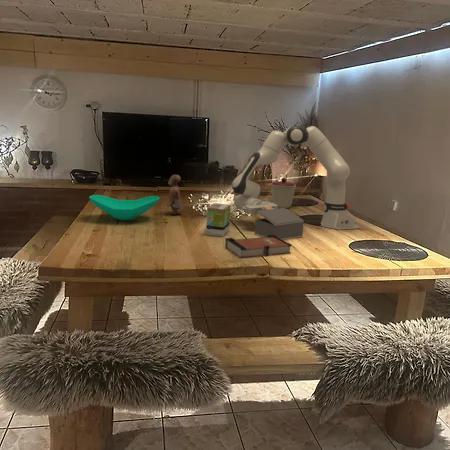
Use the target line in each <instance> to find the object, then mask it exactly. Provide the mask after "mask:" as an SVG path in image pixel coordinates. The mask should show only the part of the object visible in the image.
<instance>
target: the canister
mask: <svg viewBox="0 0 450 450" xmlns="http://www.w3.org/2000/svg"><path fill="white" fill-rule="evenodd" d="M270 185H271V203H274V204H276V205H277V206H278V208H286V209H289V208H291V206H292V204H293V200H294V194H295V189H296V187H297V185H296V184H295V182H292V181H287V179H286V177H281V178H280V180H278V181H275V180H274V181H272V182H271V183H270Z"/></svg>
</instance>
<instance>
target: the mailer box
mask: <svg viewBox="0 0 450 450" xmlns="http://www.w3.org/2000/svg"><path fill="white" fill-rule="evenodd" d="M254 222H255V224H254V235H257V236H259V237H261V238H263V237H268V235H275V236H277V238H279V239H281V240H283V241H285V240H291V239H296V238H297V239H298V238H301V237H303V232H304V222H305V221H304V222H298V223H291V224H283V225H274V224H273V223H271V222H270V221H268V220H267V219H266V218H264V217H263V218H256V219H255V221H254Z"/></svg>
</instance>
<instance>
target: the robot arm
mask: <svg viewBox="0 0 450 450" xmlns="http://www.w3.org/2000/svg"><path fill="white" fill-rule="evenodd" d="M300 144H301V145H302V144H305V145H306V146H307V147H308V149H309V150H310V151H311V153H312V154H313V155H314V156H315V158H316V159H317V161H319V162H320V164H321V165H322V167H323V168H324V169H325V171H326V191H325V201H324V204H323V214H322V218H321V221H320V224H321V225H320V226H321V227H324V228H329V229H333V230H353V229H360V228H359V227H360V226H359V225H358V224H357V223H356V218H355V216H354V215H353V214H352V213H351V212H350V211H349V210H347V209H350V208H351V205H350V204H347V203H346V201H345V200H346V191H347V188H346V187H347V186H346V179H348V178H349V176H350V174H351V168H350V166H349V165H348V163H347V162H346V161H345V160H344V158H343V157H342V156H341V155H340V154H339V152H338V150H337V149H335V147H334V146H333V145H332V143H331V142H330V141H329V139H328V138H327V137H326V136H325V135H324V133H323V132H322V131H321V130H320V129H319V128H318V127H316V126H313V125H311V126H308V127H307V128H305V127H302V126H300V125H293V126H292V125H291V126H289V127H288V128H287V129H285V130H284V131H282V132H281V130H272V131H271V132H270V133H269V134H268V135H267V137H266V139H265V140H264V142H263V144H262V146H261V148H260V149H259V150H258V151H257V152H253V154H252V155H251V156H250V158H249V159H248V160H247V161H246V163H245V165H244V166H243V167H242V169H241V171H240V172H239V173H238V174H237V176H236V177H235V178H234V179H233V180H232V182H231V188H232V191H233V193H235V194H238V195H237V196H235V197H234V199H233V204H234V206H235V208H237V209H238V210H240V211H243V212H245V213H247V214H249V215H255V216H256V215H259V213H257V211H259V210H266V209H264V208H263V207H265V206H271V207H272V208H274V209H278V206H277V205H276V204H274V203H272V201H271V202H270V201H268V200H267V199H260V195H261V194H262V193H261V192H262V188H261V185H260V184H259V183H256V182H255V181H253V180H250V179H249V177H250V175H251V174H252V172H253V171H254V170H255V168H256V167H258V166H259V165H260V166H261V165H271V164H274V163H275V162H277V160H278V158H279V156H280V154H281V152H282V150H283V148H284V147H285V146H290V147H291V146H292V147H296V146H298V145H300Z"/></svg>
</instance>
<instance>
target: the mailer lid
mask: <svg viewBox="0 0 450 450" xmlns="http://www.w3.org/2000/svg"><path fill="white" fill-rule="evenodd" d="M263 208H264V209H266V210H259V211H257V213H258V215H260V216H261V217H263V218H266V219H267V220H268V221H270V222H271V223H273V224H274V225H283V224H291V223H298V222H305V220H304V219H303V218H301V217H300V216H298V215H297V214H295V213H294V212H292V211H291V210H289V209H288V208H278V209H274V208H272V207H271V206H265V207H263Z"/></svg>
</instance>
